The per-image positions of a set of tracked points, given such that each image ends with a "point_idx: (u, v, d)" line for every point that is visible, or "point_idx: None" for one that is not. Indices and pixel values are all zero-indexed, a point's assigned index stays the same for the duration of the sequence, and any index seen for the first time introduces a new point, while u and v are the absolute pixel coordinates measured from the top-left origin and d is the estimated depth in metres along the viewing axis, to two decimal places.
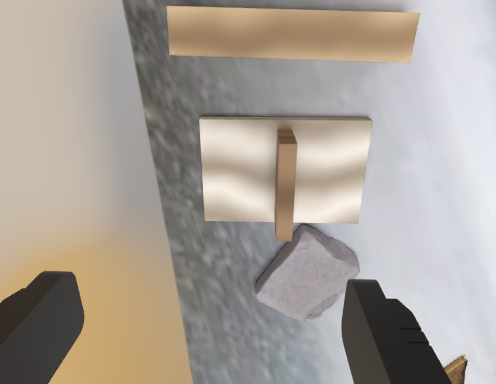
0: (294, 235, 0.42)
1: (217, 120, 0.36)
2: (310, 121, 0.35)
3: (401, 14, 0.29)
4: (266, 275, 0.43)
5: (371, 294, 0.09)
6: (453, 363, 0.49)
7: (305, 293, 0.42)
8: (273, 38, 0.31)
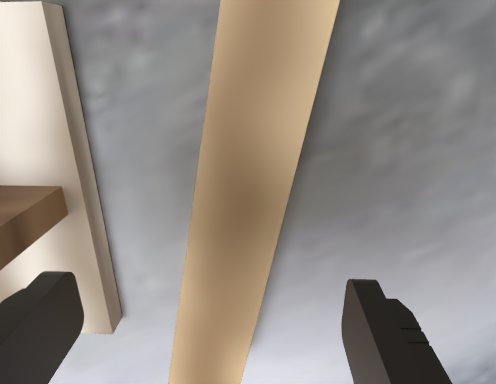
0: None
1: (49, 51, 0.15)
2: (91, 245, 0.19)
3: (238, 378, 0.19)
4: None
5: (371, 294, 0.09)
6: None
7: None
8: (233, 191, 0.14)
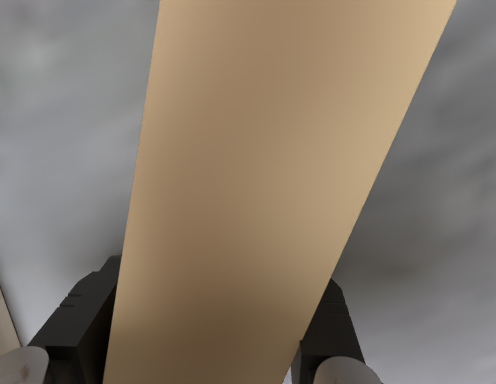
0: None
1: None
2: None
3: None
4: None
5: None
6: None
7: None
8: (191, 324, 0.07)
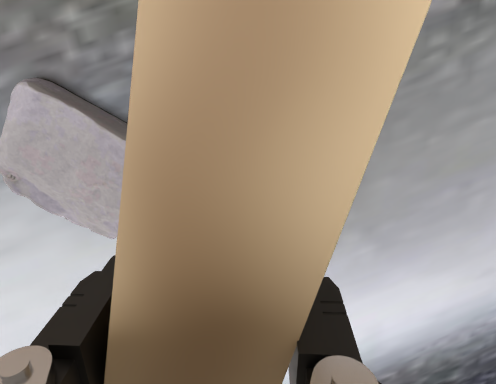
0: None
1: None
2: None
3: None
4: (68, 98, 0.25)
5: None
6: None
7: (53, 168, 0.25)
8: (188, 323, 0.07)
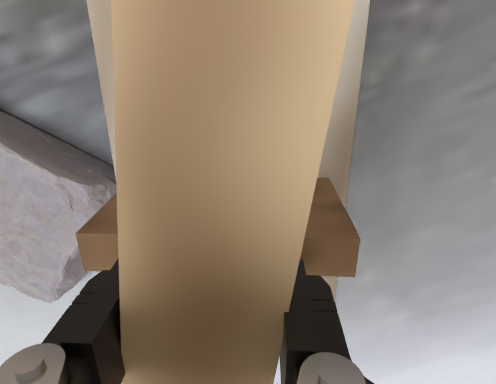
0: (94, 163, 0.18)
1: (362, 42, 0.15)
2: None
3: None
4: None
5: None
6: None
7: None
8: (190, 293, 0.08)
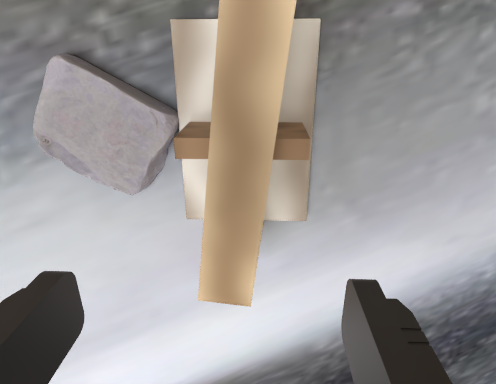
0: (164, 105, 0.31)
1: (317, 44, 0.28)
2: (309, 159, 0.31)
3: (250, 290, 0.25)
4: (94, 70, 0.29)
5: (371, 294, 0.09)
6: None
7: (82, 130, 0.30)
8: (236, 142, 0.21)
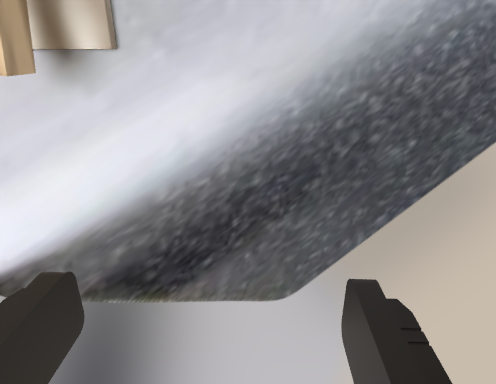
0: None
1: None
2: None
3: (1, 56, 0.28)
4: None
5: (371, 294, 0.09)
6: None
7: None
8: None
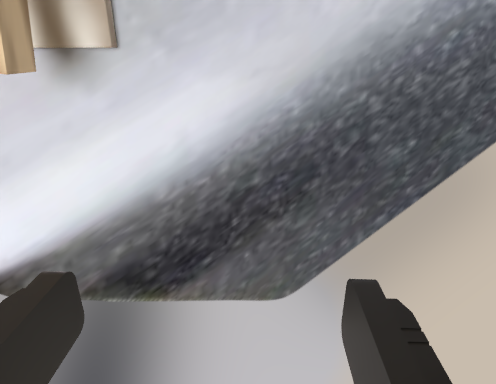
0: None
1: None
2: None
3: (2, 54, 0.28)
4: None
5: (371, 294, 0.09)
6: None
7: None
8: None
